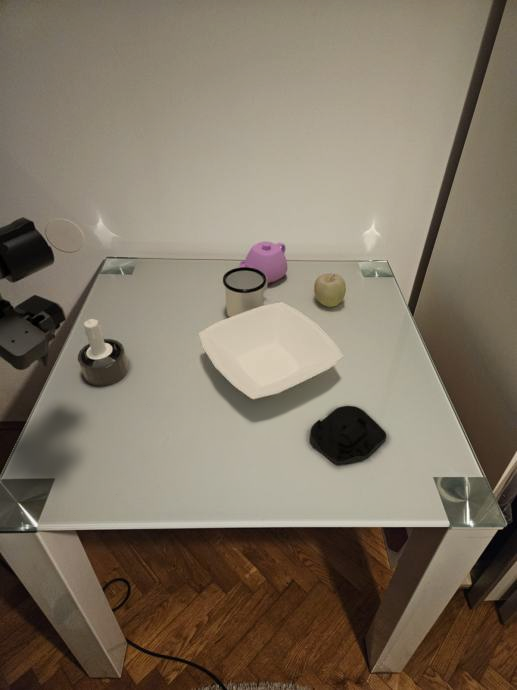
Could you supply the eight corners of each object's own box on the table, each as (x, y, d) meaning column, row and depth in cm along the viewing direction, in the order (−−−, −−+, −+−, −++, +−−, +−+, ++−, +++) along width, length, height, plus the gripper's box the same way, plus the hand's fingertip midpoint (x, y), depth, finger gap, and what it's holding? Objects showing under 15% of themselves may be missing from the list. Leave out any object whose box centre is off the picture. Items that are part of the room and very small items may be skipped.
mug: (246, 330, 95) (245, 296, 89) (215, 312, 99) (213, 278, 93) (280, 306, 101) (282, 272, 95) (250, 290, 106) (250, 257, 100)
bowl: (190, 353, 89) (188, 332, 85) (283, 317, 98) (285, 296, 95) (247, 428, 75) (247, 407, 71) (350, 377, 84) (354, 356, 80)
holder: (83, 389, 81) (77, 372, 78) (84, 359, 87) (78, 343, 84) (129, 381, 83) (125, 364, 80) (127, 352, 89) (122, 335, 86)
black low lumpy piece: (346, 401, 80) (350, 383, 76) (392, 434, 74) (398, 415, 71) (302, 438, 74) (304, 419, 70) (348, 476, 68) (353, 458, 65)
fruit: (350, 302, 103) (355, 273, 98) (331, 315, 99) (335, 286, 94) (325, 289, 107) (329, 260, 102) (305, 301, 103) (308, 272, 98)
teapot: (298, 275, 111) (301, 242, 105) (254, 297, 104) (255, 263, 98) (270, 259, 117) (271, 227, 111) (227, 279, 110) (225, 246, 103)
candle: (87, 378, 82) (69, 329, 74) (95, 359, 86) (79, 311, 78) (115, 379, 82) (101, 330, 74) (122, 359, 86) (109, 311, 78)
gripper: (-56, 366, 45) (1, 454, 55) (78, 279, 57) (105, 364, 68) (-119, 333, 49) (-54, 421, 59) (20, 258, 61) (53, 342, 71)
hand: (19, 385), depth 64 cm, fingers open, 9 cm apart
